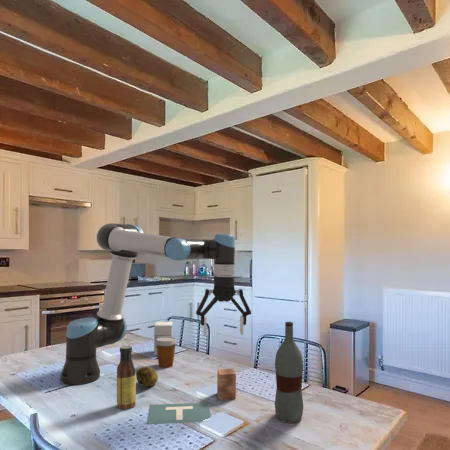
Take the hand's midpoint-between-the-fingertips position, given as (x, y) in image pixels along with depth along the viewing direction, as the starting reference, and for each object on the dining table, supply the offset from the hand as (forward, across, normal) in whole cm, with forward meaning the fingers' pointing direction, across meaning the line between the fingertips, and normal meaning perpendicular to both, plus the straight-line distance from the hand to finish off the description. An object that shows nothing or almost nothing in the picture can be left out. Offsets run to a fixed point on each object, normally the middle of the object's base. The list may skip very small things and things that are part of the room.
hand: (223, 334), depth 137 cm
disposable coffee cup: (+23, -21, +37) cm, 49 cm away
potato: (+23, -28, +13) cm, 38 cm away
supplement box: (+23, -23, +57) cm, 66 cm away
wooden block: (+22, +1, 0) cm, 22 cm away
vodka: (+22, +19, -18) cm, 35 cm away
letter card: (+22, -16, -12) cm, 30 cm away
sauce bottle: (+23, -34, -5) cm, 41 cm away
